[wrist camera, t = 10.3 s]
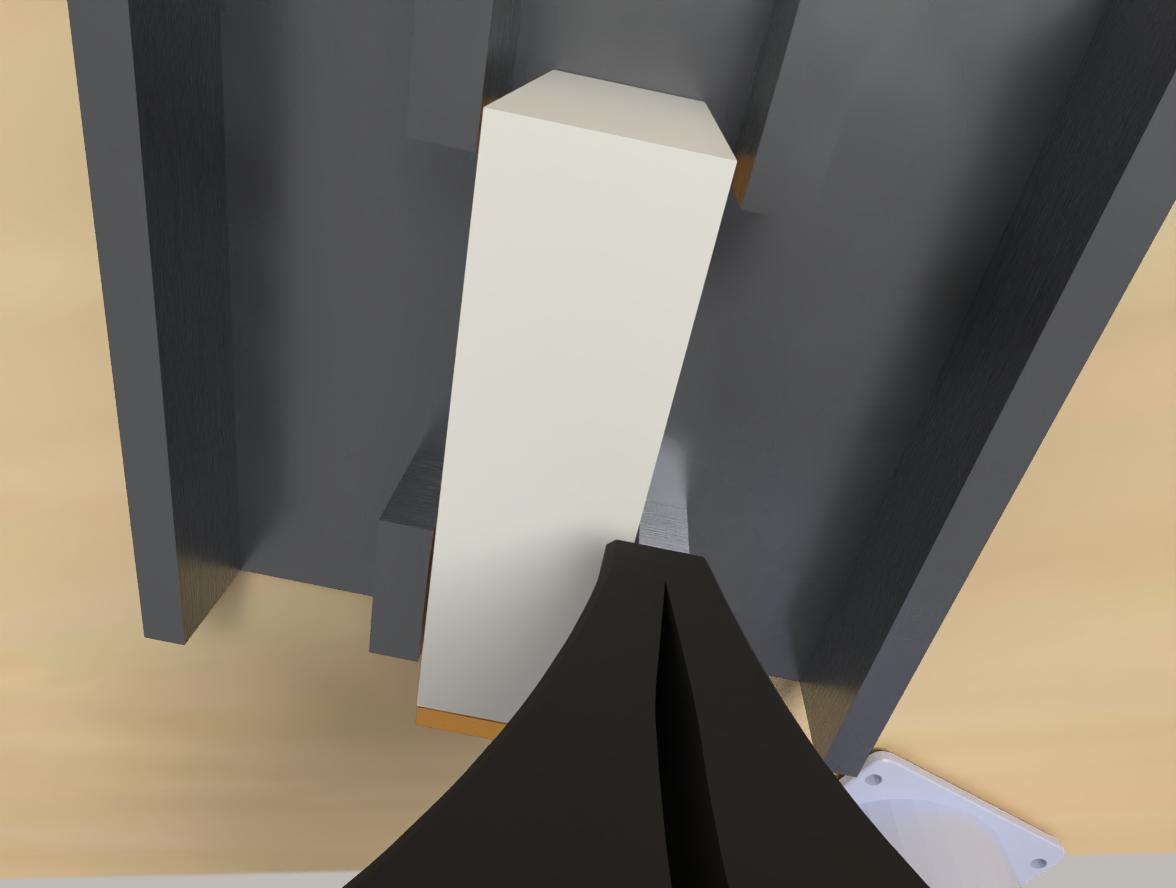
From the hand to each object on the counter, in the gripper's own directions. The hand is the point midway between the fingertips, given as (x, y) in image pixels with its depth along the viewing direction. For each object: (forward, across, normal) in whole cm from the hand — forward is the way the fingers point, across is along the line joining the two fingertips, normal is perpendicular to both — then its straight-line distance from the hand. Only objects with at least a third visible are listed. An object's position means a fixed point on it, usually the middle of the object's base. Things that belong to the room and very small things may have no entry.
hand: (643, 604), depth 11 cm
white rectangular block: (+8, +2, -1) cm, 8 cm away
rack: (+9, +2, 0) cm, 9 cm away
